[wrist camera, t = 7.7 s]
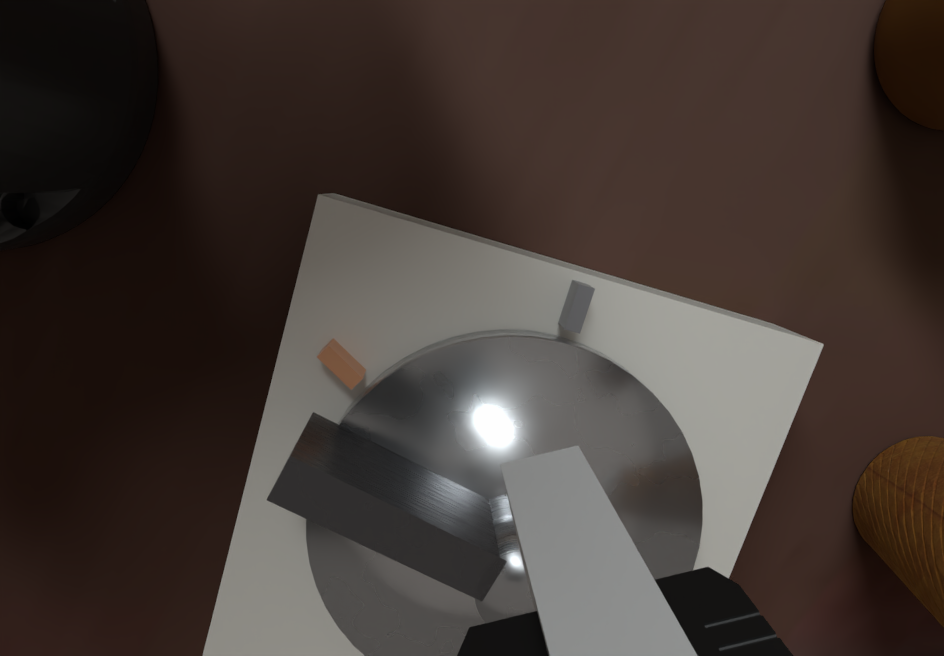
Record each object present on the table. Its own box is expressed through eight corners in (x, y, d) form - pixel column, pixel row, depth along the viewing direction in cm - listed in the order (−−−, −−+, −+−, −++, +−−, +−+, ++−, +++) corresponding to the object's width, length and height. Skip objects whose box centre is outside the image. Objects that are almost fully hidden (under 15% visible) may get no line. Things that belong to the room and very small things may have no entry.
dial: (760, 440, 27) (841, 503, 21) (567, 730, 29) (597, 851, 24) (404, 243, 24) (397, 259, 19) (223, 576, 27) (172, 673, 21)
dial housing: (227, 612, 31) (187, 694, 26) (333, 193, 28) (312, 194, 23) (626, 700, 34) (660, 791, 29) (772, 323, 30) (842, 351, 25)
